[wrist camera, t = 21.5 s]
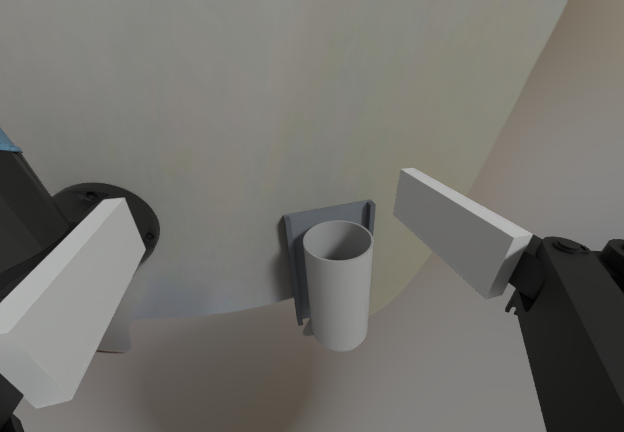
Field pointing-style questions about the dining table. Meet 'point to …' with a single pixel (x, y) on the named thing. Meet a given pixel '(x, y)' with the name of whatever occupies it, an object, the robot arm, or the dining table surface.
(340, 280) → the cylinder vase
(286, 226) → the mat
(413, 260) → the dining table surface
